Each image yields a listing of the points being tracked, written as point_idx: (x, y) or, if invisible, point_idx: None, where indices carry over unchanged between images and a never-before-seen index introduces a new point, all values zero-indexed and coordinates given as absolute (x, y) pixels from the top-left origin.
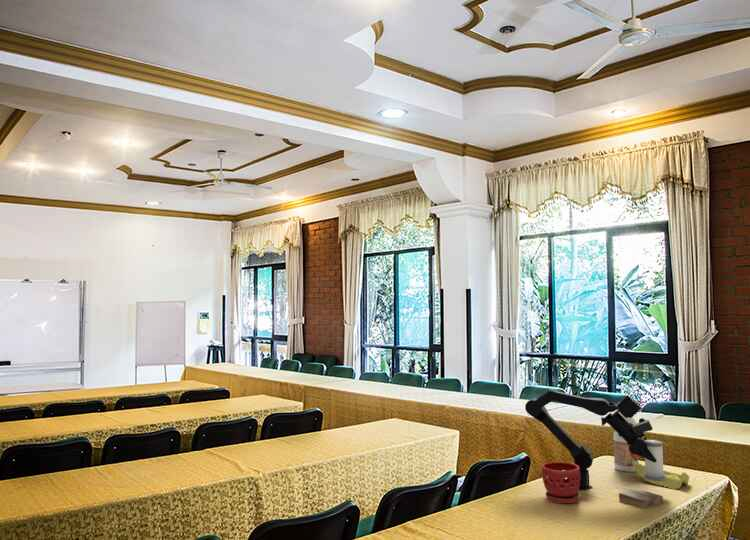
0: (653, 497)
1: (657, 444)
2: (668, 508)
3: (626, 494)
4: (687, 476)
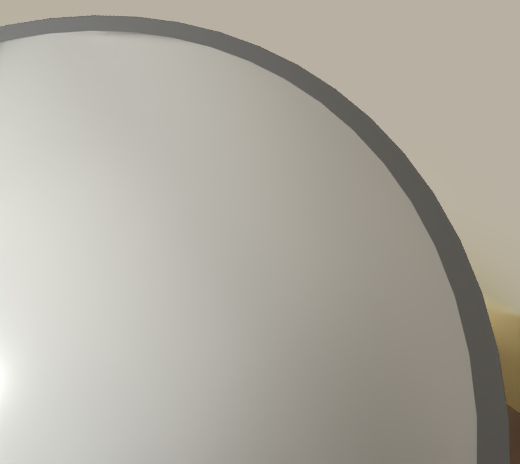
0: (517, 431)
1: (416, 209)
2: (512, 332)
3: None
4: None
